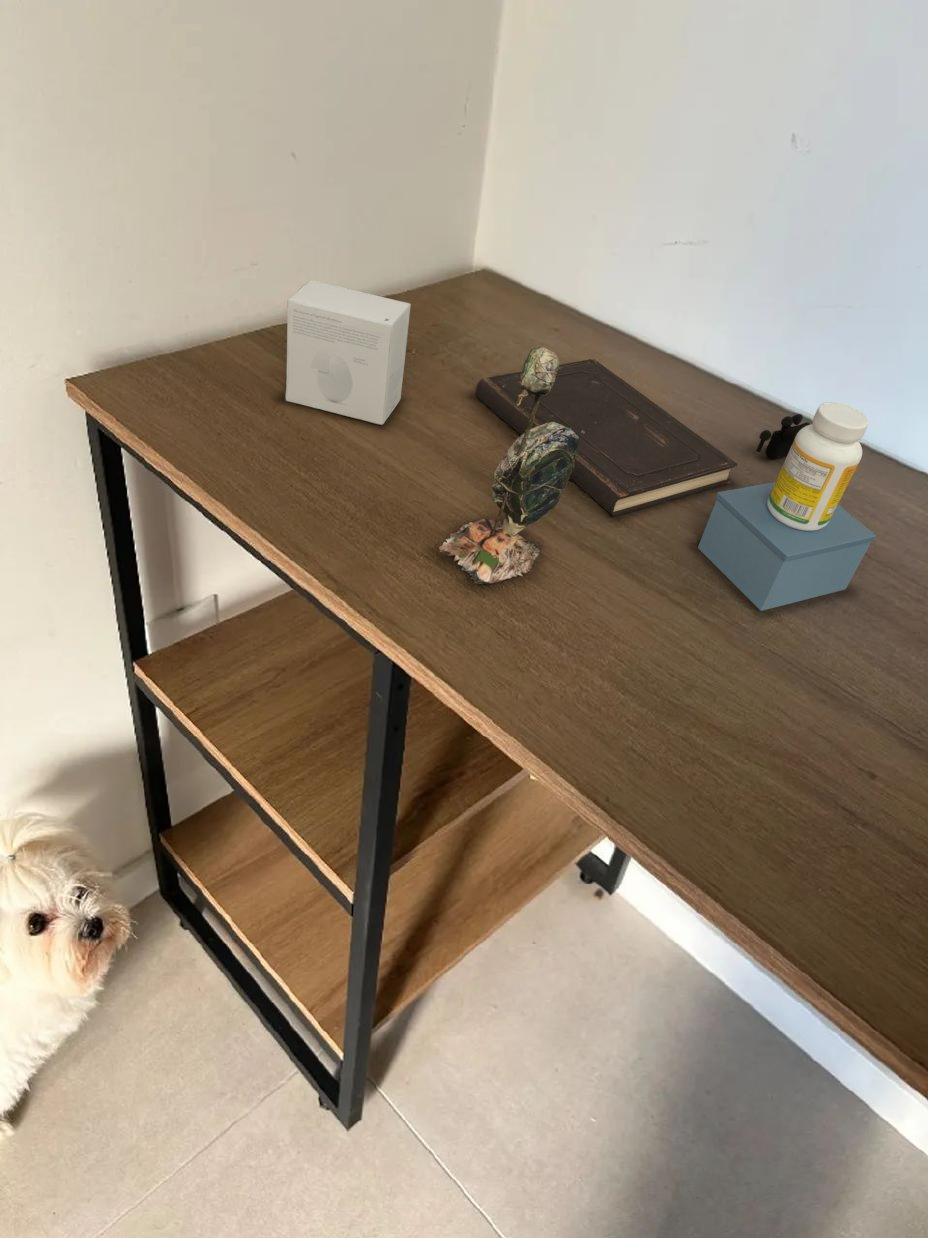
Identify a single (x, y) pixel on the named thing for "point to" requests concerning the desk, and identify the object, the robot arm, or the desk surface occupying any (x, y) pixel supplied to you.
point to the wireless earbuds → (781, 437)
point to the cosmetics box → (346, 351)
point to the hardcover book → (614, 437)
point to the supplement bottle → (818, 467)
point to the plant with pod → (520, 487)
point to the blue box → (780, 549)
